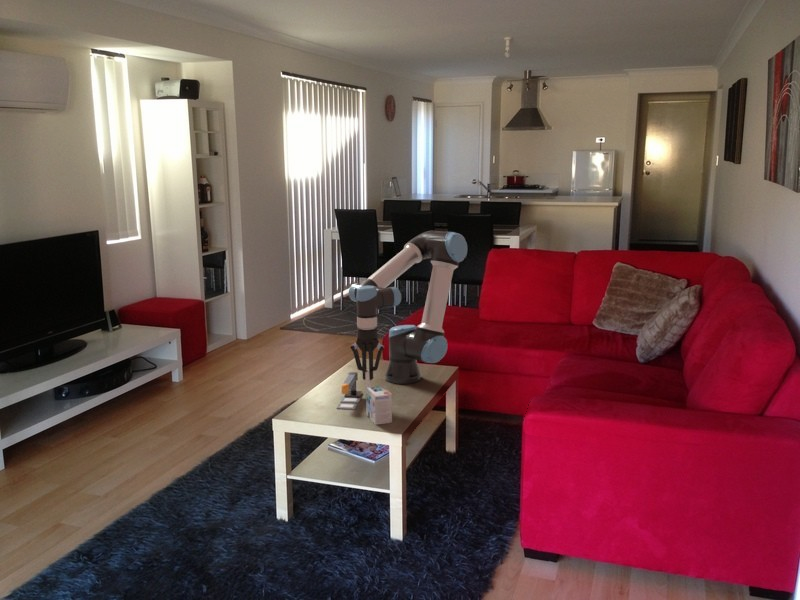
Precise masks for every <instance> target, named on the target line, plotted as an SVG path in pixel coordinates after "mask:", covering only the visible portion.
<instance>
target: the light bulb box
mask: <svg viewBox="0 0 800 600" xmlns="http://www.w3.org/2000/svg"><path fill="white" fill-rule="evenodd" d="M365 390H366V391H365V392H366V393H365V396H366V397H365V399H366V401H365V403H366V406H365V407H366V408H365V410H366V411H365V413H366V414H365V415H366V416H367V418H368V419H369V420H370V421H371V422H372V423H373V424H374V426H375V425H376V426H377V425H382V424H383V425H384V424H390V423H393V394H392V392H390V391H389V390H388V389H387V388H386V387H385V386H384V385H378V386H377V385H376V386H371V387H368V388H366V387H365Z"/></svg>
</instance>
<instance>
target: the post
mask: <svg viewBox="0 0 800 600" xmlns="http://www.w3.org/2000/svg"><path fill="white" fill-rule="evenodd" d="M362 395H363V391H362V390H357V381H355V383H354V384H353V386H352V388H351V389H350V391H349V394H344V397H345V398H361V397H362Z"/></svg>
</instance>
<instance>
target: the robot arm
mask: <svg viewBox="0 0 800 600" xmlns="http://www.w3.org/2000/svg"><path fill="white" fill-rule="evenodd" d="M467 254H468V243H467V241H466V238H465V237H464V236H463V234H460V233H458V232H455V231H442V230H428V231H427V230H426V231H424V232H422V233H420V234H418V235H416V236H415V237H413V238H412V239H410V240H409V241H407V243H405V244H404V245H403V249H402V250H401V251H400V252H398V253H396V255H395V256H393V257H392V258H391V259H389V260H388V261H387V262H386V263H385V264H383V265H382V266H381V267H380V268H378V269H377V270H376V271H375V272H374V273H372V274H371V275H370V276H369V277H368V278H367V279H365V280H364V281H362V282H361V283H360V282H357V283H353V284H351V285H350V287H349V289H348V297H349V299H350V300H351V301H352V302H356V327H357V329H356V330H357V332H356V336H357V338H356V341H355V343H352V344H351V345H350V350H351V351H352V353H353V356H354V360H355V364H356V367H357V370H358V371H361V372H362V380H363V381H365V389H366V388H368V387H372V385H371V381H373V379H374V372H375V371H376V372H377V371H378V368H379V365H380V360H381V356H382V352H383V350H384V348H385V345H384V344H382V343H380V341H379V338H378V328H377V327H378V310H385V309H389V308H393V307H397V306H399V305H400V303H401V302H402V293H401V291H400V289H398V287H396V286H390V285H391V284H392V283H393V282H394V281H395V280H397V279H398V278H399V277H400V276H401V275H403V274H404V273H405V272H406V271H408V270H409V269H410V268H411V267H413V265H415V264H419V263H421V262H422V261H423V260H426V259H430V261H429V262H430V263H431V265H432V270H431V275H430V280H429V285H428V290H427V294H426V298H425V299H426V300H425V302H424V303H425V305H424V308H423V311H422V312H423V313H422V318H421V323H420V324H418V325H417V326H416V325H415V324H403V325H402V324H401V325H396V326H393V327H391V328H390V329H389V330H388V332H389V333H388V355H389V356H388V357H389V358H388V359H389V361H388V363H387V367H386V370H385V373H384V375H385V376H384V378H385V379H384V380H385V381H386V382H388V383H392V384H396V385H397V384H399V385H408V384H415V383H416V382H419V381H420V380H421V379H422V378H421V371H420V368H419V364H418V361H421V362H424V363H429V364H436V363H438V362H440V361H441V360H442V359H443V358H444V357H445V356H446V354H447V351H448V345H449V344H448V340H447V338H446V337H445V330H444V329H443V322H444V317H445V312H446V308H447V303H448V299H449V295H450V290H451V285H452V279H453V275H454V271H455V270H456V269H457V268H459V263H461V262H463V261H464V259H466V258H467ZM358 348H359V349H358ZM375 349H377V350H378V351H377V354H376V359H375V363H374V351H375ZM358 350H360V351H361V357H362V358H361V359H360V356H359V351H358ZM367 353H368V368H367Z"/></svg>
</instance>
